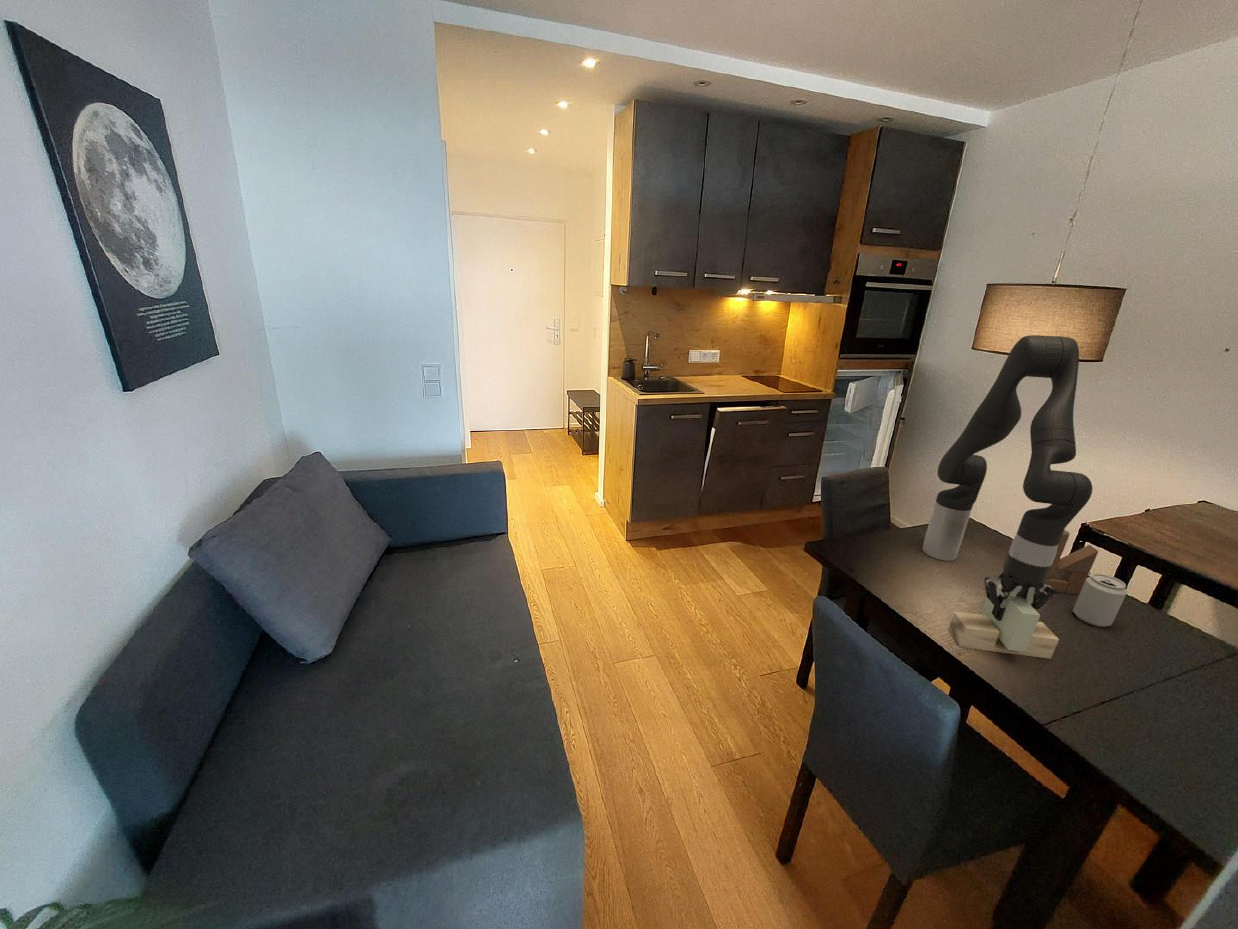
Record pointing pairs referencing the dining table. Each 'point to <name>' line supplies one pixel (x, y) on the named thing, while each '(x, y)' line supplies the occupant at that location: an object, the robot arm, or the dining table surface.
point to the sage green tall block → (1014, 622)
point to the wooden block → (1071, 568)
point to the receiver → (984, 636)
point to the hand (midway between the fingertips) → (1006, 619)
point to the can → (1100, 600)
